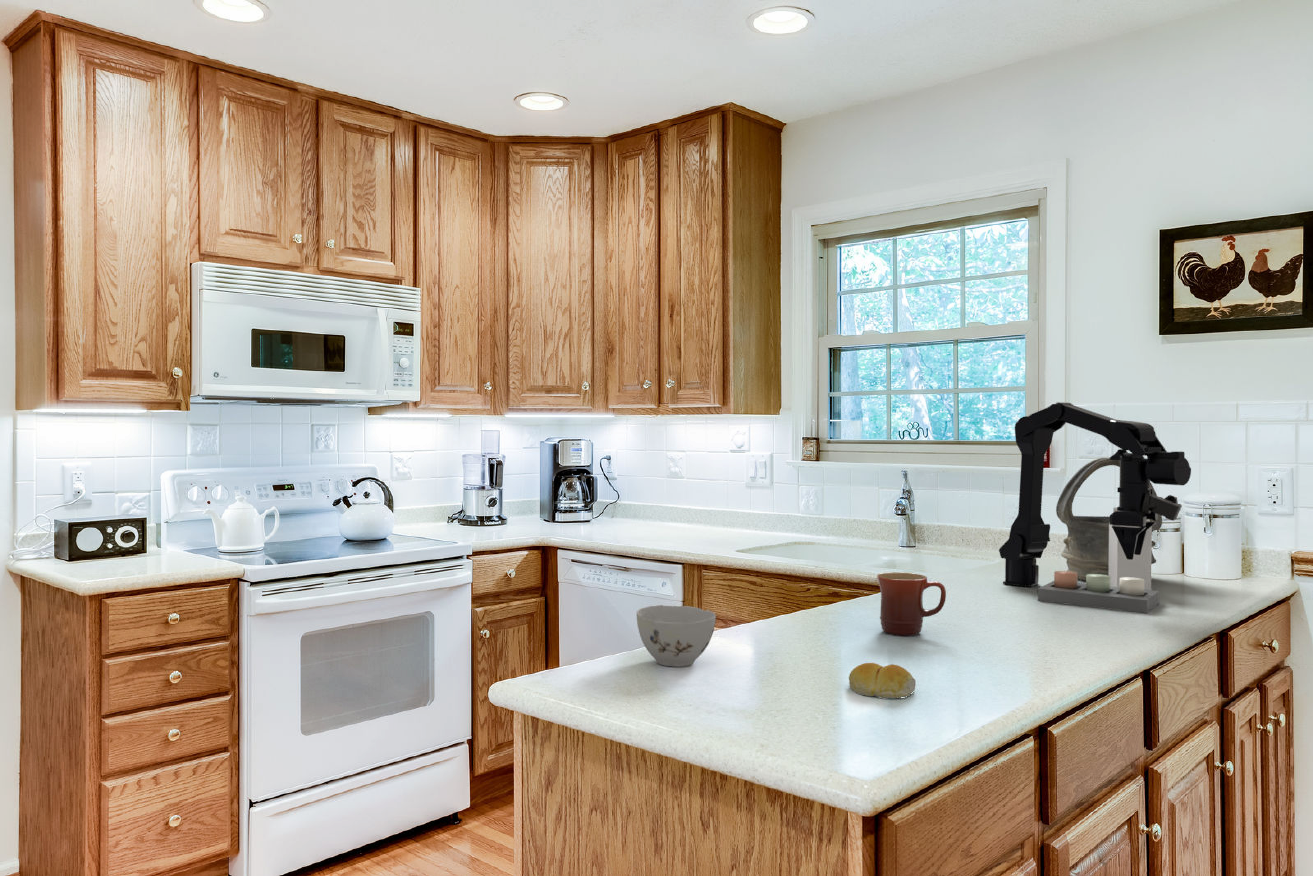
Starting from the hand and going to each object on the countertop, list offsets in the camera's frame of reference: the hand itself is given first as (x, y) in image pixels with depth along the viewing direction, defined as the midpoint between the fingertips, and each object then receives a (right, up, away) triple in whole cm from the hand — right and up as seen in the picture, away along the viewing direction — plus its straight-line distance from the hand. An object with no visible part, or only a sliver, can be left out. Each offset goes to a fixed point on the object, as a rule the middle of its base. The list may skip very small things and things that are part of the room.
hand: (1133, 557), depth 193 cm
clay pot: (+12, -10, +36) cm, 39 cm away
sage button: (-6, -7, +4) cm, 10 cm away
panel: (-6, -10, +4) cm, 12 cm away
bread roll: (-68, -11, -63) cm, 94 cm away
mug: (-54, -11, -27) cm, 61 cm away
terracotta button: (-11, -7, +8) cm, 15 cm away
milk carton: (+8, -10, +17) cm, 21 cm away
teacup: (-97, -11, -47) cm, 108 cm away
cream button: (-1, -8, 0) cm, 8 cm away
